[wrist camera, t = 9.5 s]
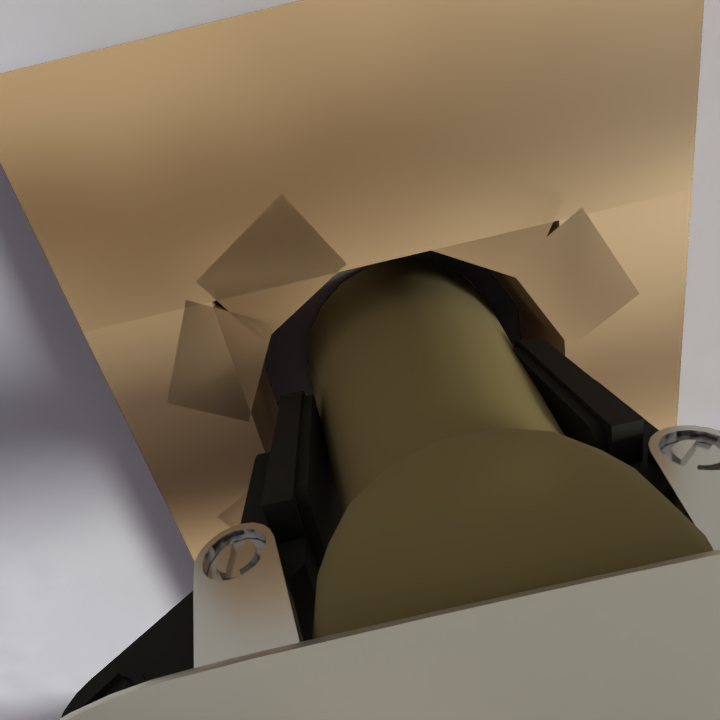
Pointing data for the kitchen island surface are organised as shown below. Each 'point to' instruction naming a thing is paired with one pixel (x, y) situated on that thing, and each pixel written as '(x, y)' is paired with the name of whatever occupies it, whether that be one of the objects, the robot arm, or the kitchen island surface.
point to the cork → (457, 461)
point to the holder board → (356, 196)
